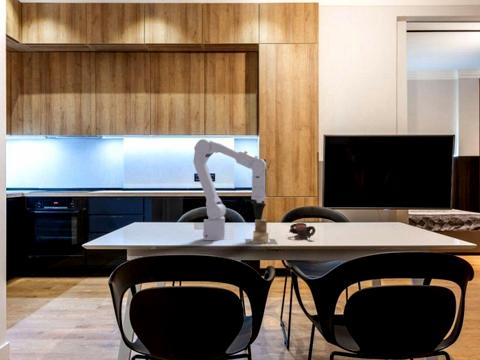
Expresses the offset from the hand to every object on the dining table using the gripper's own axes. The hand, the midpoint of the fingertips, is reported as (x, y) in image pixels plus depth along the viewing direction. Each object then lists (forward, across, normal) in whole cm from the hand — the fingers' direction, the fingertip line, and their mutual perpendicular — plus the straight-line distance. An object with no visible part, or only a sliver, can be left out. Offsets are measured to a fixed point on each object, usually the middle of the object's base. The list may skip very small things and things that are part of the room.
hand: (258, 218), depth 178 cm
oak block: (+9, -2, -1) cm, 10 cm away
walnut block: (+5, -2, -1) cm, 6 cm away
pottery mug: (+10, +7, -20) cm, 24 cm away
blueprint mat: (+10, -3, -1) cm, 10 cm away
